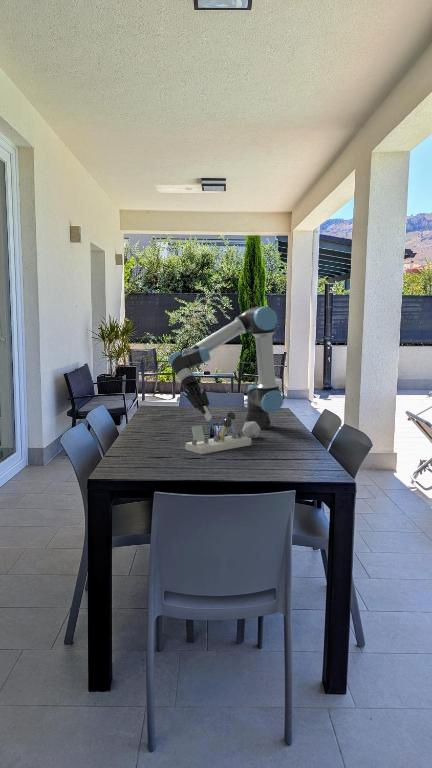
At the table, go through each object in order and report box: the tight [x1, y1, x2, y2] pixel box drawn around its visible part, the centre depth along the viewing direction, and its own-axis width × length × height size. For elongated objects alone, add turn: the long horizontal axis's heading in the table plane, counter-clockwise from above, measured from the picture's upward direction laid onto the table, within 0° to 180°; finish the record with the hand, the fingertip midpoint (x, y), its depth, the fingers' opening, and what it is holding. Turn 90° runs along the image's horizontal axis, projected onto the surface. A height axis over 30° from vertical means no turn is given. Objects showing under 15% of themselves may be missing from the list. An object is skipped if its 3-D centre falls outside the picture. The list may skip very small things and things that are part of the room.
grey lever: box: [226, 411, 239, 436], centre depth 259 cm, size 4×4×12 cm
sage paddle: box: [190, 425, 205, 442], centre depth 244 cm, size 1×5×7 cm, turn 131°
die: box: [241, 422, 262, 439], centre depth 273 cm, size 8×9×10 cm
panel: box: [184, 431, 252, 455], centre depth 250 cm, size 11×30×5 cm, turn 130°
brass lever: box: [217, 417, 232, 440], centre depth 247 cm, size 4×4×12 cm
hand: (209, 418), depth 255 cm, fingers closed
